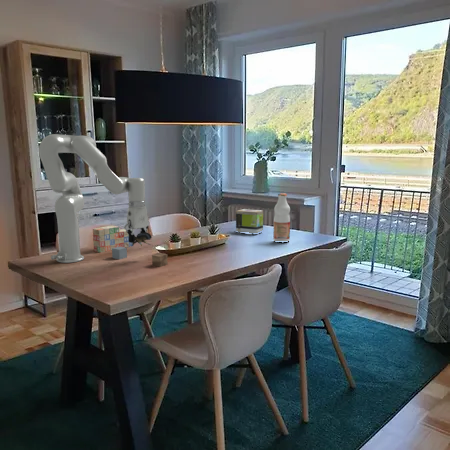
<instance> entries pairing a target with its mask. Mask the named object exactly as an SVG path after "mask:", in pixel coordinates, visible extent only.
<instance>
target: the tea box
mask: <svg viewBox="0 0 450 450" xmlns="http://www.w3.org/2000/svg"><path fill="white" fill-rule="evenodd" d="M262 230H263V231H264V210H263V209H262V210H260V209H246V208H245V209H244V208H243V209H238V210H236V211H235V232H236V231H238V232H249V233H258V232H260V231H262Z"/></svg>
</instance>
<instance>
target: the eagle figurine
mask: <svg viewBox="0 0 450 450" xmlns="http://www.w3.org/2000/svg"><path fill="white" fill-rule="evenodd" d="M151 239H152V235H151V233H149V232H148V231H147V232H144V233H137V235H136V236H135V243H133V244H132V246H131V247H134V245H136V243H137V244H138V245H140V246H141V247H143V243H144V244H147V245H150V246H151V244H150V243H149V242H147V241H149V240H151Z"/></svg>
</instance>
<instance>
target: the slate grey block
mask: <svg viewBox="0 0 450 450" xmlns="http://www.w3.org/2000/svg"><path fill="white" fill-rule="evenodd" d="M127 248H128V247H126V248H125V247H116V248H112V251H111V252H112V253H111V254H112V255H111V256H112V259H116V260H123V259H126V258H128V249H127Z"/></svg>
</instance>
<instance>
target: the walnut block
mask: <svg viewBox="0 0 450 450" xmlns="http://www.w3.org/2000/svg"><path fill="white" fill-rule="evenodd" d="M151 262H152V263H151V265H152V266H153V267H160V268H162V267H165V266H167V265H168V264H169V263H168V262H169V261H168V254H166V253H163V252H157V253H154V254H152V255H151Z"/></svg>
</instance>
